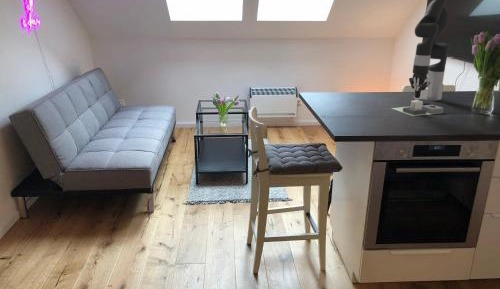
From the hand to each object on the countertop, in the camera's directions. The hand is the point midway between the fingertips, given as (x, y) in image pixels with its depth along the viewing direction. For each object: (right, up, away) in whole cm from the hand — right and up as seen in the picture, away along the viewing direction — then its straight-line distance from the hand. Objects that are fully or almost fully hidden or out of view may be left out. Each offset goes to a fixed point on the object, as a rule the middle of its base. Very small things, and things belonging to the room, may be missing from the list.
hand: (416, 97), depth 211 cm
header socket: (-1, -8, +1) cm, 8 cm away
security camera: (+10, -2, +23) cm, 25 cm away
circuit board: (+2, -7, +5) cm, 9 cm away
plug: (0, -7, +1) cm, 8 cm away
